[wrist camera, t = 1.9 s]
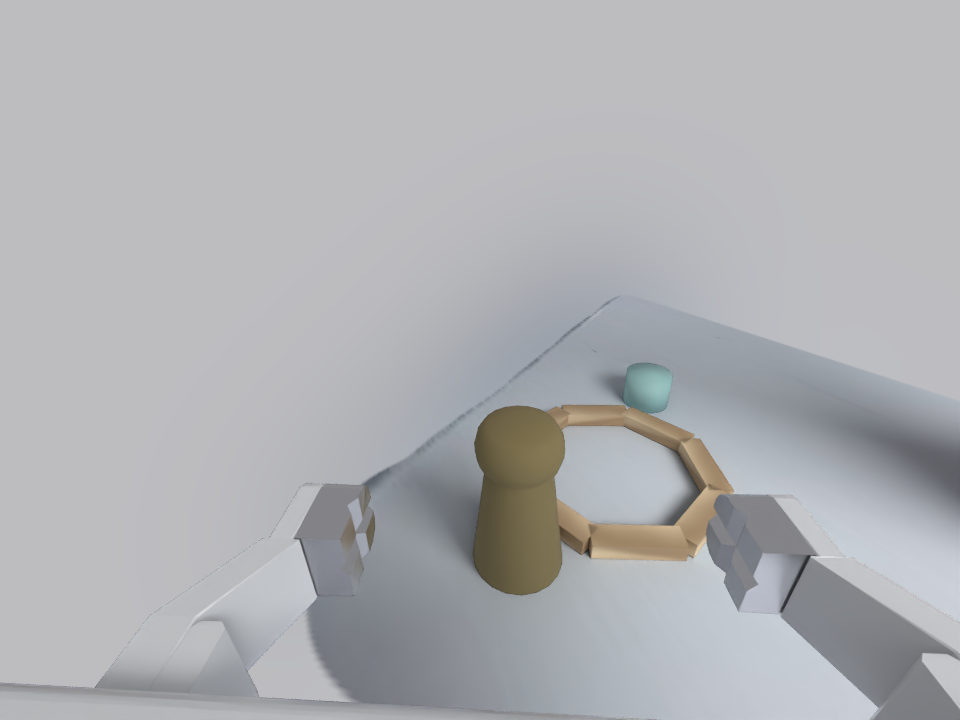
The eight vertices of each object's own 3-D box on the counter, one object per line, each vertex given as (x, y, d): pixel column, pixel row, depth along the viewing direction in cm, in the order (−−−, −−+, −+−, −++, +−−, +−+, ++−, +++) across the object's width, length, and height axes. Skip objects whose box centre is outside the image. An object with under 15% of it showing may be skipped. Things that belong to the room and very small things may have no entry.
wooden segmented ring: (675, 415, 42) (678, 405, 41) (768, 563, 27) (773, 550, 27) (510, 414, 43) (510, 404, 42) (512, 556, 28) (513, 544, 28)
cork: (487, 509, 32) (484, 386, 27) (567, 528, 30) (580, 399, 25) (460, 580, 27) (450, 444, 22) (555, 607, 25) (567, 466, 20)
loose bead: (658, 390, 46) (664, 362, 45) (672, 413, 43) (679, 383, 41) (618, 390, 47) (622, 362, 45) (628, 413, 43) (633, 383, 41)
